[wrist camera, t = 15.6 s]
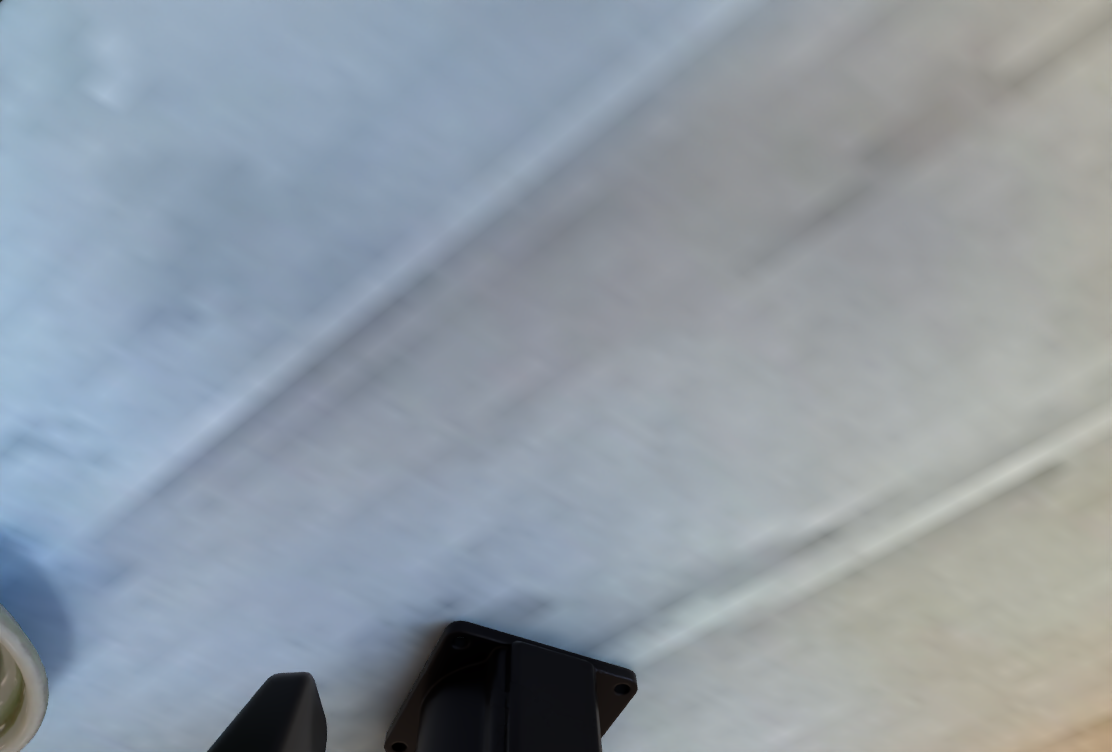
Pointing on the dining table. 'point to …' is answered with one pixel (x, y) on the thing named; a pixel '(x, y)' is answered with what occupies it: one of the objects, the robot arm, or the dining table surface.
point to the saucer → (19, 686)
